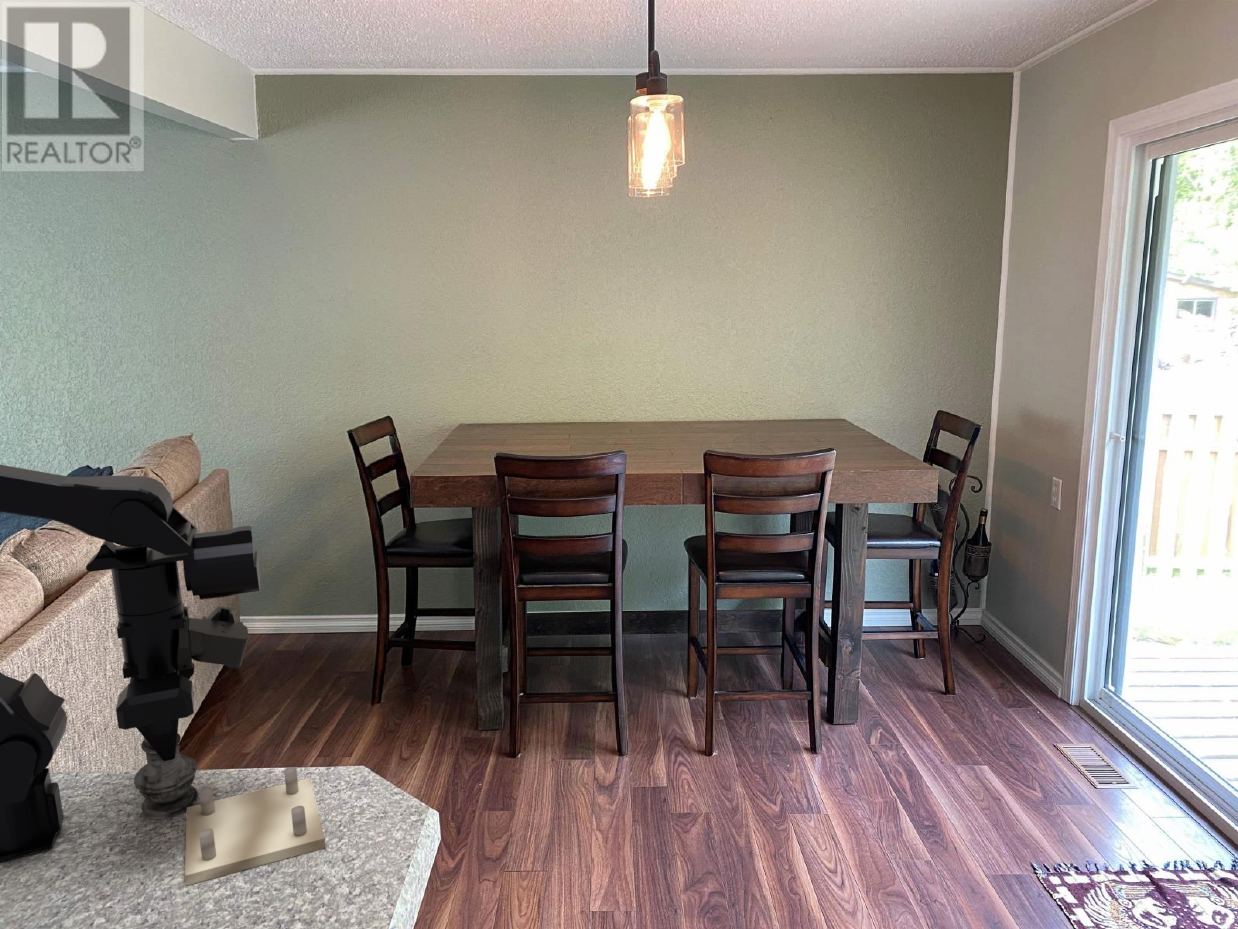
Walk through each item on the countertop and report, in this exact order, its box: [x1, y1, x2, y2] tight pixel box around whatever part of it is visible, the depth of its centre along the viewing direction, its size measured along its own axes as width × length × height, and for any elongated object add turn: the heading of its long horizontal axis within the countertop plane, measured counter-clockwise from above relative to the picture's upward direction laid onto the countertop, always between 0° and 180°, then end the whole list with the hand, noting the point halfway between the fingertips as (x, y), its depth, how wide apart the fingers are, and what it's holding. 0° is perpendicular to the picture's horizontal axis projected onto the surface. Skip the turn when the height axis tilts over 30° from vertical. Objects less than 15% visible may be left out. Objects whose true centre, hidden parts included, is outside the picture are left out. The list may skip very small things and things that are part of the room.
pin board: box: [184, 766, 326, 886], centre depth 86 cm, size 12×12×4 cm
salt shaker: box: [133, 733, 199, 820], centre depth 90 cm, size 6×6×12 cm
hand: (169, 750), depth 90 cm, fingers closed on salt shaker, 4 cm apart
